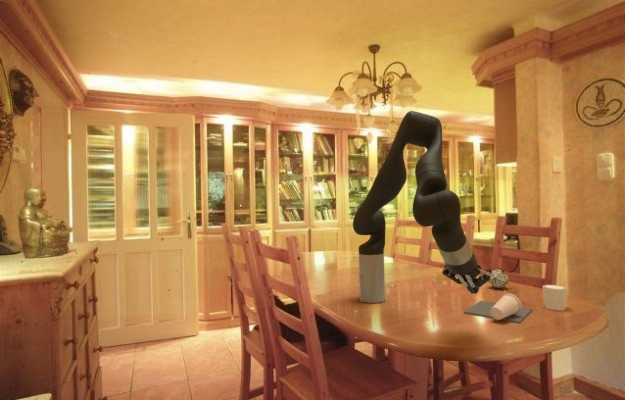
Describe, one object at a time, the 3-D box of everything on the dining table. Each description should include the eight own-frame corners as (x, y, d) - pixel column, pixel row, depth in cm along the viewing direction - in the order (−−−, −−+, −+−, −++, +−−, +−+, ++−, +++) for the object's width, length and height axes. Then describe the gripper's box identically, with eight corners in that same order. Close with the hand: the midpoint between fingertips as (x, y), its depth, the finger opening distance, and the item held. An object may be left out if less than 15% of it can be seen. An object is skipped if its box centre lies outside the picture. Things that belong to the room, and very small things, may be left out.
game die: (503, 298, 146) (516, 281, 141) (482, 290, 148) (493, 273, 142) (502, 283, 154) (513, 266, 148) (481, 275, 155) (492, 259, 149)
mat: (519, 323, 107) (519, 321, 107) (464, 313, 118) (464, 311, 118) (532, 310, 119) (532, 308, 119) (480, 301, 130) (480, 300, 130)
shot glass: (560, 312, 116) (559, 290, 116) (538, 307, 122) (537, 286, 122) (572, 309, 119) (571, 287, 119) (550, 304, 125) (549, 283, 125)
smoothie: (511, 323, 105) (531, 308, 114) (502, 301, 106) (523, 287, 115) (490, 325, 110) (511, 310, 119) (482, 304, 111) (503, 290, 120)
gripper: (487, 242, 91) (502, 282, 100) (435, 239, 100) (454, 276, 109) (480, 267, 87) (497, 306, 96) (427, 261, 96) (447, 298, 105)
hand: (474, 290), depth 103 cm, fingers closed
